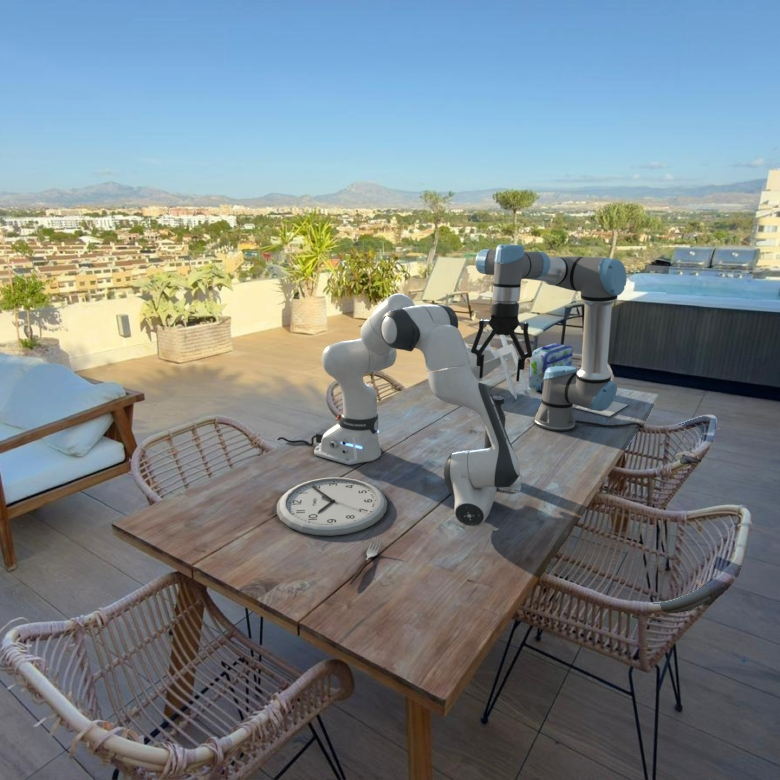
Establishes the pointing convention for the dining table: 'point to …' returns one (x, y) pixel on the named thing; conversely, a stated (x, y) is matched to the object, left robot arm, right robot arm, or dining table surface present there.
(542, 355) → the lunch box
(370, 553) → the fork
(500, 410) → the bottle
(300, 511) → the wall clock
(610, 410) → the invitation card
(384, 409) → the dining table surface
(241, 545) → the dining table surface
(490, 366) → the white plastic object
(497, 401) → the cap
